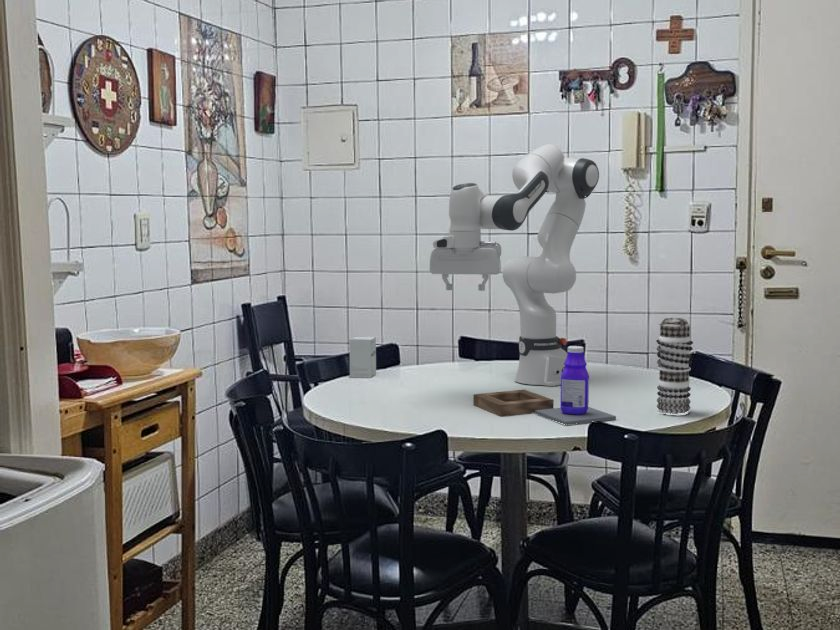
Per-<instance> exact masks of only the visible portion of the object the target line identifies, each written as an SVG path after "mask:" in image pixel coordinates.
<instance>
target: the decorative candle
mask: <svg viewBox="0 0 840 630" xmlns="http://www.w3.org/2000/svg"><path fill="white" fill-rule="evenodd" d="M658 326H659V328H660V329H659V333H660V334H659V339H657V340H656V343H657V344H658V346H657V347H656V351H657V353H656V356H657V357H658V359H657V361H656V364H657V370H659V372H658V376H659V378H658V386H657V390H658V391H657V393H656V394H657V395H658V397H657V398H656V402H657V404H656V408H657V411H656V413H657V412H659V413H663V414H664V413H665V414H666V413H670V414H671V413H672V414H678V413H685V412H687V411H690V410H691V405H690V404H691V401H692V400H690V399H689V397H691V393H690V391H691V389H692V388H691V387H690V371H691V369H692V368H691V367H690V366H689V365H691V364H693V363H692V362H693V361H692V360H690V359H692V358H693V355H692V354H690V351H692V350H693V349H694V347H692V346H691V345H693V344H694V342H693V340H691V335H690V333H691V326H692V324H690V323H689V322H688V320H687V319H686V318H684V317H683V318H681V317H667V318H664V319H663V320H662V321H661V323H658Z"/></svg>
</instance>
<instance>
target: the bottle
mask: <svg viewBox="0 0 840 630" xmlns="http://www.w3.org/2000/svg"><path fill="white" fill-rule="evenodd" d="M566 352H567V358H566V360H565V362H564V365H565V367H564V369H563V372H562V374H561V385H560V405H559V406H560V407H559V408H561V411H562V412H563V413H566V414H577V415H582V414H585V413H586V412H587V410H588V407H589V402H590V401H589V400H590V399H589V396H590V394H589V393H590V375H589V372H588V369H587V365H588V364H587V362H586V359H585V355H584V354H585V353H584V346H579V345H578V346H577V345H569V346H568V347H567V351H566Z"/></svg>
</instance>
